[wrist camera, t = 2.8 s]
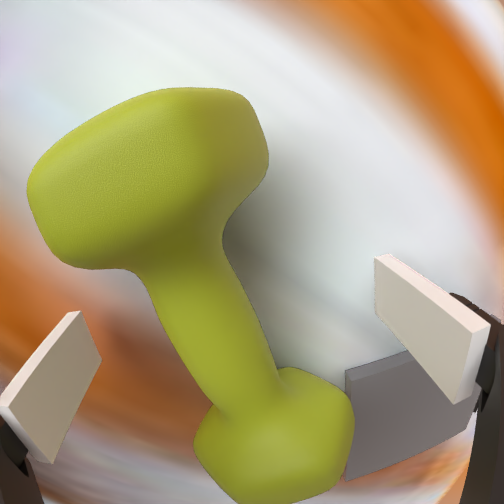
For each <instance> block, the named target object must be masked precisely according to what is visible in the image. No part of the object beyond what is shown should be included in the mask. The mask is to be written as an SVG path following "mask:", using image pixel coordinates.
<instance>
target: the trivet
mask: <svg viewBox="0 0 504 504" xmlns="http://www.w3.org/2000/svg"><path fill="white" fill-rule="evenodd" d="M491 317H493V318H494V319H495V320H497V321H498V322H500V323H501V320H500V319H498V318H497V317H495V316H494V315H491ZM481 389H482V388H481V387H480V386H479V385H478V384H477V383H476V382H475V385H474V388H473V391H472V394H471V396H470V397H468V398H466V399H464V400H462V401H460V402H458V403H456V404H454V405H453V404H452V403H451V401H450V400H449V399H448V398H447V396H446V395H445V394H444V393H443V391H442V390H441V389H440V388H439V387H438V385H437V384H436V383H435V382H434V381H433V379H432V378H431V377H430V376H429V375H428V373H427V372H426V371H425V370H424V369H423V367H422V366H421V365H420V364H419V363H418V361H417V360H416V359H415V358H414V357H413V356H412V354H411V353H410V352H409V351H405V352H402V353H399V354H396V355H393V356H390V357H387V358H384V359H381V360H378V361H375V362H372V363H369V364H366V365H363V366H359V367H356V368H353V369H349V370H346V382H345V394H346V395H347V396H348V398H349V400H350V402H351V405H352V408H353V412H354V417H355V429H354V435H353V440H352V445H351V449H350V453H349V456H348V460H347V463H346V466H345V469H344V472H343V474H342V475H343V477H344V480H345V482H346V481H349V480H352V479H355V478H358V477H361V476H364V475H367V474H370V473H373V472H375V471H378V470H381V469H383V468H386V467H388V466H391V465H393V464H396V463H398V462H401V461H403V460H406V459H408V458H410V457H412V456H415V455H417V454H419V453H421V452H423V451H425V450H428V449H430V448H432V447H434V446H436V445H438V444H440V443H442V442H444V441H445V440H447V439H449V438H451V437H453V436H455V435H457V434H458V433H460V432H462V431H464V430H465V429H466V427H467V424H468V422H469V420H470V417H471V415H472V412H473V410H474V407H475V405H476V402H477V400H478V397H479V394H480V392H481Z"/></svg>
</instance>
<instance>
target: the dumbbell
mask: <svg viewBox="0 0 504 504" xmlns="http://www.w3.org/2000/svg"><path fill="white" fill-rule="evenodd" d="M268 160H269V153H268V148H267V143H266V140H265V137H264V134H263V131H262V128H261V126H260V123H259V121H258V118H257V116H256V113H255V111H254V109H253V107H252V106H251V104H250V102H249V101H248V100H247V99H246V98H245V97H243V96H242V95H240V94H238V93H236V92H233V91H230V90H224V89H218V88H193V87H185V88H167V89H161V90H156V91H152V92H148V93H145V94H142V95H139V96H136V97H134V98H132V99H129V100H127V101H124V102H122V103H120V104H118V105H116V106H114V107H112V108H110V109H108V110H106V111H104V112H102V113H101V114H99V115H97V116H95V117H93V118H92V119H90V120H88V121H87V122H85V123H83V124H82V125H80V126H79V127H77V128H75V129H74V130H72V131H71V132H69V133H68V134H66V135H65V136H64V137H63V138H61V139H60V140H59V141H58V142H56V143H55V144H54V145H53V146H52V147H51V148H50V149H49V150H48V151H47V152H46V153H45V154H44V155H43V156H42V157H41V158H40V159H39V161H38V162H37V163H36V164H35V166H34V168H33V169H32V172H31V174H30V176H29V178H28V183H27V197H28V202H29V206H30V208H31V211H32V213H33V216H34V218H35V221H36V223H37V226H38V228H39V230H40V232H41V234H42V236H43V238H44V240H45V242H46V244H47V245H48V247H49V248H50V250H51V251H52V253H53V254H54V255H55V256H56V257H57V258H59V259H60V260H61V261H62V262H64V263H66V264H69V265H71V266H73V267H77V268H83V269H91V270H94V269H126V270H129V271H131V272H133V273H135V274H136V275H137V276H138V277H139V278H140V279H141V280H142V282H143V283H144V285H145V287H146V288H147V291H148V293H149V295H150V297H151V300H152V302H153V305H154V307H155V310H156V312H157V315H158V317H159V320H160V322H161V324H162V326H163V328H164V330H165V332H166V333H167V335H168V337H169V339H170V341H171V342H172V344H173V346H174V347H175V349H176V351H177V353H178V354H179V356H180V358H181V359H182V361H183V362H184V364H185V366H186V367H187V369H188V370H189V372H190V373H191V375H192V376H193V378H194V379H195V381H196V382H197V384H198V385H199V387H200V388H201V390H202V391H203V392H204V394H205V395H206V396H207V397H208V398H209V400H210V401H211V402H212V403H213V405H212V406H211V407H210V409H209V410H208V412H207V414H206V415H205V417H204V419H203V420H202V422H201V424H200V426H199V428H198V430H197V432H196V435H195V437H194V440H193V448H194V453H195V455H196V457H197V458H198V460H199V462H200V463H201V465H202V466H203V468H204V469H205V470H206V471H207V473H208V474H209V475H210V476H211V478H212V479H213V480H214V481H215V482H216V483H217V484H218V485H219V487H220V488H221V489H222V490H223V491H224V492H225V493H226V494H227V495H228V496H230V497H231V498H232V499H233V500H234V501H235V502H237V503H238V504H292V503H295V502H299V501H302V500H305V499H308V498H311V497H314V496H317V495H319V494H322V493H324V492H326V491H328V490H329V489H331V488H332V487H333V486H335V485H336V484H337V482H338V481H339V480H340V478H341V476H342V474H343V472H344V469H345V466H346V463H347V460H348V456H349V453H350V449H351V445H352V440H353V435H354V429H355V417H354V412H353V408H352V405H351V402H350V400H349V398H348V396H347V395H346V394H345V393H344V392H343V391H342V390H341V389H339V388H338V387H336V386H335V385H333V384H331V383H329V382H327V381H325V380H323V379H321V378H319V377H317V376H315V375H313V374H311V373H308V372H306V371H303V370H301V369H297V368H293V367H285V368H280V369H277V368H276V365H275V362H274V359H273V356H272V353H271V350H270V348H269V345H268V343H267V340H266V337H265V335H264V332H263V330H262V327H261V325H260V322H259V320H258V318H257V316H256V314H255V311H254V309H253V307H252V305H251V303H250V301H249V299H248V297H247V295H246V293H245V291H244V289H243V287H242V285H241V283H240V281H239V279H238V277H237V276H236V274H235V272H234V270H233V268H232V267H231V265H230V263H229V261H228V259H227V257H226V255H225V253H224V249H223V246H222V235H223V230H224V228H225V225H226V223H227V221H228V219H229V218H230V216H231V215H232V214H233V212H234V211H235V210H236V209H237V208H238V206H239V205H240V204H241V203H242V202H243V201H244V200H245V199H246V198H247V197H248V196H249V195H250V194H251V193H252V192H253V191H254V190H255V189H256V188H257V187H258V185H259V184H260V182H261V181H262V179H263V178H264V177H265V174H266V171H267V168H268Z"/></svg>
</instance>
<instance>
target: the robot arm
mask: <svg viewBox="0 0 504 504" xmlns="http://www.w3.org/2000/svg"><path fill="white" fill-rule="evenodd" d="M374 272H375V313H376V314H377V316H378V317H379V318H380V319H381V320H382V321H383V322H384V323H385V325H386V326H387V327H388V328H389V329H390V330H391V331H392V333H393V334H394V335H395V336H396V337H397V338H398V339H399V341H400V342H401V343H402V344H403V345H404V346H405V347H406V349H407V350H408V351H409V352H410V353H411V354H412V356H413V357H414V358H415V359H416V360H417V361H418V363H419V364H420V365H421V366H422V367H423V369H424V370H425V371H426V372H427V373H428V375H429V376H430V377H431V378H432V379H433V381H434V382H435V383H436V384H437V385H438V387H439V388H440V389H441V390H442V391H443V393H444V394H445V395H446V396H447V398H448V399H449V400H450V401H451V403H452V404H453V405H454V404H456V403H458V402H460V401H462V400H464V399H466V398H468V397H470V396H471V394H472V391H473V388H474V385H475V382H476V383H477V384H478V385H479V386H480V387H481V388H482V389H481V392H480V395H479V397H478V400H477V403H476V405H475V408H474V410H473V412H476V411H477V408H478V411H477V420H476V427H475V434H474V441H473V447H472V452H471V457H470V462H469V467H468V472H467V476H466V480H465V485H464V488H463V492H462V496H461V499H460V503H459V504H504V325H502V324H501V323H500V322H498V321H497V320H495V319H494V318H493V317H491V316H490V315H489V314H487V313H486V312H484V311H483V310H482V309H479V307H477V306H476V305H475V304H472V302H470V301H469V300H467V299H466V298H465V297H463V296H460V295H457V294H454V293H449V294H448V293H447V292H445V291H444V290H443V289H441V288H440V287H438V286H437V285H435V284H434V283H432V282H431V281H430V280H428V279H427V278H425V277H424V276H422V275H421V274H419V273H418V272H416V271H415V270H413V269H412V268H410V267H409V266H407V265H406V264H404V263H403V262H401V261H400V260H398V259H397V258H395V257H394V256H392V255H390V254H385V255H381V256H376V257H374ZM101 362H102V359H101V356H100V354H99V352H98V350H97V348H96V345H95V343H94V341H93V339H92V336H91V334H90V332H89V329H88V327H87V324H86V322H85V319H84V317H83V314H82V312H81V311H75V312H68V313H67V314H66V315H65V317H64V318H63V319H62V320H61V321H60V322H59V323H58V325H57V326H56V327H55V328H54V329H53V330H52V332H51V333H50V334H49V335H48V336H47V337H46V339H45V340H44V341H43V342H42V343H41V345H40V346H39V347H38V348H37V349H36V351H35V352H34V353H33V354H32V355H31V357H30V358H29V359H28V360H27V362H26V363H25V364H24V365H23V367H22V368H21V369H20V371H19V372H18V373H17V374H16V376H15V377H14V378H13V380H12V381H11V382H10V384H9V385H8V386H7V388H6V389H5V390H4V392H3V393H2V394H1V396H0V504H44V501H43V499H42V496H41V493H40V491H39V488H38V485H37V482H36V479H35V476H34V473H33V470H32V466H31V464H30V462H29V460H28V459H27V458H26V457H25V456H26V454H27V452H28V451H29V452H30V453H31V455H32V456H33V457H34V458H35V459H36V460H37V461H38V462H43V463H48V464H53V463H54V460H55V458H56V456H57V453H58V451H59V449H60V446H61V444H62V442H63V440H64V437H65V435H66V433H67V431H68V429H69V426H70V424H71V422H72V420H73V418H74V416H75V414H76V412H77V410H78V407H79V405H80V403H81V401H82V399H83V397H84V395H85V393H86V391H87V389H88V387H89V385H90V383H91V381H92V379H93V377H94V375H95V373H96V371H97V370H98V368H99V366H100V364H101Z"/></svg>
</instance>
